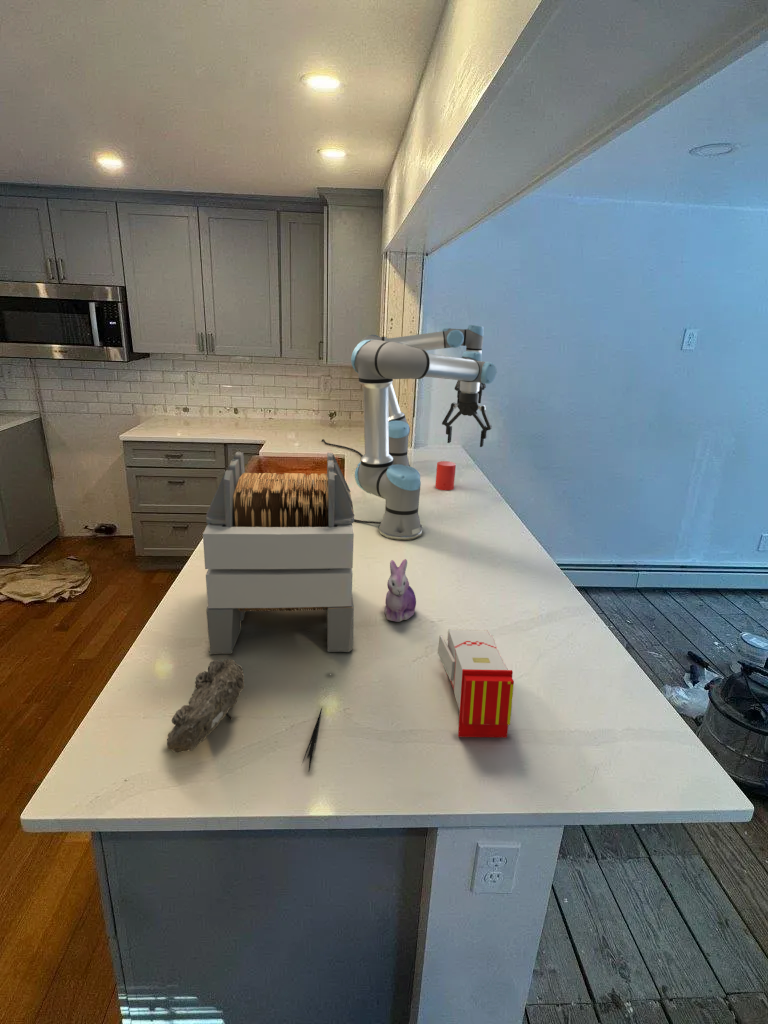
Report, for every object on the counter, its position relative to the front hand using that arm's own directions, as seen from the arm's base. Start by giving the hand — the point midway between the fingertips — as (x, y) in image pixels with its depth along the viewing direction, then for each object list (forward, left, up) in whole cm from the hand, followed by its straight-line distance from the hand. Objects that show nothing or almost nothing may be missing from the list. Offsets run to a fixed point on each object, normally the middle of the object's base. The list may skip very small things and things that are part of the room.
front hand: (465, 444), depth 232 cm
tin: (-15, +6, -24) cm, 29 cm away
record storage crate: (+40, -109, -24) cm, 119 cm away
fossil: (+63, -140, -24) cm, 155 cm away
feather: (+76, -124, -24) cm, 148 cm away
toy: (+89, -95, -24) cm, 132 cm away
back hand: (-34, +40, +9) cm, 53 cm away
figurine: (+56, -85, -24) cm, 105 cm away
